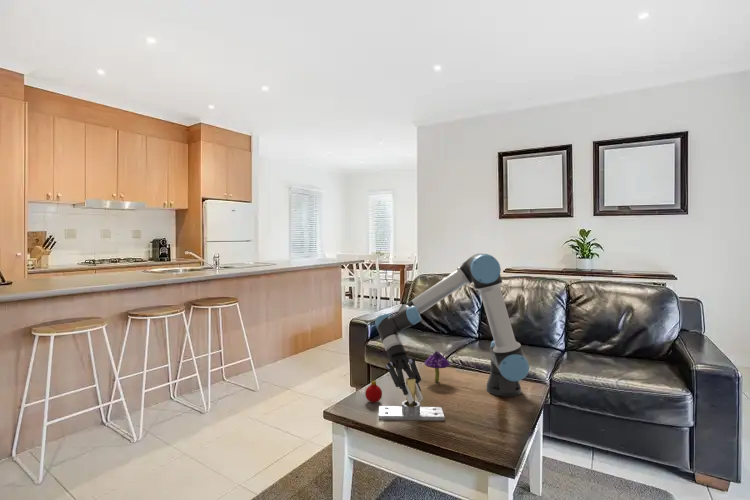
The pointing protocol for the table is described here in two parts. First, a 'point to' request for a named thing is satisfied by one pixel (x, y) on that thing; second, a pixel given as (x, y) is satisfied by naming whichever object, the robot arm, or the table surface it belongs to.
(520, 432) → the table surface
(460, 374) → the table surface
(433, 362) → the decorative mushroom
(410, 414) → the hinge leaves
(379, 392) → the christmas ornament
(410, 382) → the hinge pin
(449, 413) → the table surface
